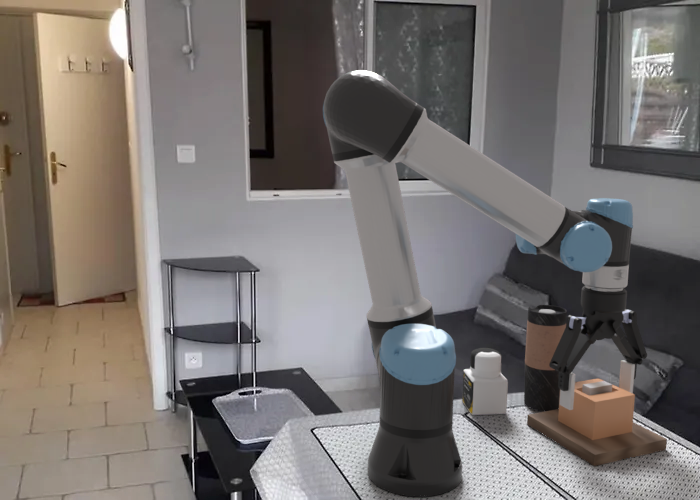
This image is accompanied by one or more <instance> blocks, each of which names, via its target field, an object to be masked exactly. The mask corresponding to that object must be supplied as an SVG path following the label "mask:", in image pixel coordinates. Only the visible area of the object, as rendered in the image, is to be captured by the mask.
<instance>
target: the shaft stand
mask: <svg viewBox="0 0 700 500" xmlns="http://www.w3.org/2000/svg"><path fill="white" fill-rule="evenodd" d="M612 385H613V384H612V383H610V382H608V381H605V380H603V381H601V382H595V383H589V384H583V387H582V392H583V393H585V394H587V395H589V396H590V395H596V394H601V393H607V392H612ZM558 415H559V409H556V410H551V411H539V412H536V413H535V412H534V413H531V414H530V413H529V414H527V419H526V421H527V422H526V425H527V426H528V425H529V427H530V426H531V427H530V428H532V429H533V428H534V429H533V430H535V429H536V430H535V431H537V430H538V431H539V432H538V431H537V432H538V433H540V432H541V433H543V434H544V435H543V434H542V435H543V436H545V435H546V436H547V437H546V436H545V437H546V438H548V437H549V438H548V439H550V438H551V439H553V440H554V441H556V442H557V443H556V442H555V443H556V444H558V443H559V444H560V445H559V444H558V445H559V446H561V447H562V446H563V448H564V449H566V450H567V451H569V452H571V453H572V454H574V455H576V456H577V457H579V458H580V459H581V460H584V461H585V462H587V463H588V464H590V465H592V466H593V467H597V466H602V465H606V464H611V463H615V462H620V461H623V460H622V459H624V460H627V459H626V458H628V459H631V458H630V457H632V458H635V457H636V456H637V457H642V456H645V455H650V454H653V453H654V454H655V453H658V452H662V451H667V445H668V444H667V443H668V439H667V438H666V437H663V436H661V435H660V434H658V433H655V432H653V431H651V430H650V429H648V428H645V427H644V426H642V425H639V424H637V423H636V422H634V421H633V425H632V432H629V433H625V434H620V435H615V436H610V437H606V438H601V439H596V440H591V439H590V438H588V437H586V436H584V435H582V434H581V433H579V432H577V431H575V430H574V429H572V428H570V427H568V426H567V425H565V424H563V423H561V422H560V421H558ZM541 433H540V434H541ZM551 439H550V440H551ZM553 440H552V441H553ZM554 441H553V442H554Z"/></svg>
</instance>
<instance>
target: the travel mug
mask: <svg viewBox="0 0 700 500" xmlns="http://www.w3.org/2000/svg"><path fill="white" fill-rule="evenodd" d="M567 317H568V311H567V309H566V308H564V307H561V306H557V305H549V304H538V305H537V306H536V307H533V308H531V307H530V306H529V307H528V309H527V321H526V322H527V323H526V336H525V337H526V338H525V353H524V354H525V355H524V356H525V357H524V383H523V386H524V388H523V389H524V390H523V401H524V406H526V407H527V408H529V409H531V410H534V411H539V412H545V411H551V410H556V409H559V398H560V389H559V388H558V378H559V372H558V371H557V370H554V369H552V368H550V366H549V364H550V361H551V359H552V357H553V355H554V352H555V350H556V348H557V346H558V344H559V341H560V339H561V337H562V335H563V333H564V330H565V328H566V322H567Z"/></svg>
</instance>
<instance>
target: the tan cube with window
mask: <svg viewBox="0 0 700 500" xmlns="http://www.w3.org/2000/svg"><path fill="white" fill-rule="evenodd" d="M601 381H604V379H601V378H600V377H599V378H593V379H586V380H580V381H575V388H574V403H573V410H568V409H567V408H565V407H563V406H561V405H559V415H558V421H560V422H561V423H563V424H565V425H567V426H568V427H570V428H572V429H574V430H575V431H577V432H579V433H581V434H582V435H584V436H586V437H588V438H590V439H591V440H596V439H601V438H606V437H610V436H615V435H620V434H625V433H629V432H632V425H633V422H634V411H635V410H634V409H635V399H636V394H634V393H633V394H632V393H630V392H628V391H626V390H623V389H621V388H619V386H617V385H614V384H612V392H607V393H601V394H596V395H590V396H589V395H587V394H585V393H583V392H582V387H583V384H589V383H595V382H601ZM559 404H560V398H559Z"/></svg>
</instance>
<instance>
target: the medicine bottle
mask: <svg viewBox="0 0 700 500" xmlns="http://www.w3.org/2000/svg"><path fill="white" fill-rule="evenodd" d="M502 355H503V354H501V352H500V351H499V350H496V349H494V348H490V347H489V348H488V347H479V348H476V349H473V350H472V351H471V352H470V363H469V364H470V365H469V366H470V367H469V368H465V369H463V370H462V371H463V373H462V374H463V375H462V376H463V377H462V395H461V396H462V403H463V405H464V406H465V407H466V409H467V411H468V412H469V413H470V414H471V416H486V415H506V414H507V410H508V409H507V408H508V407H507V405H508V388H509V387H508V386H509V380H508V379H507V378H506V377H505V376H504V375H503V374H502V358H503V357H502Z"/></svg>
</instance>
